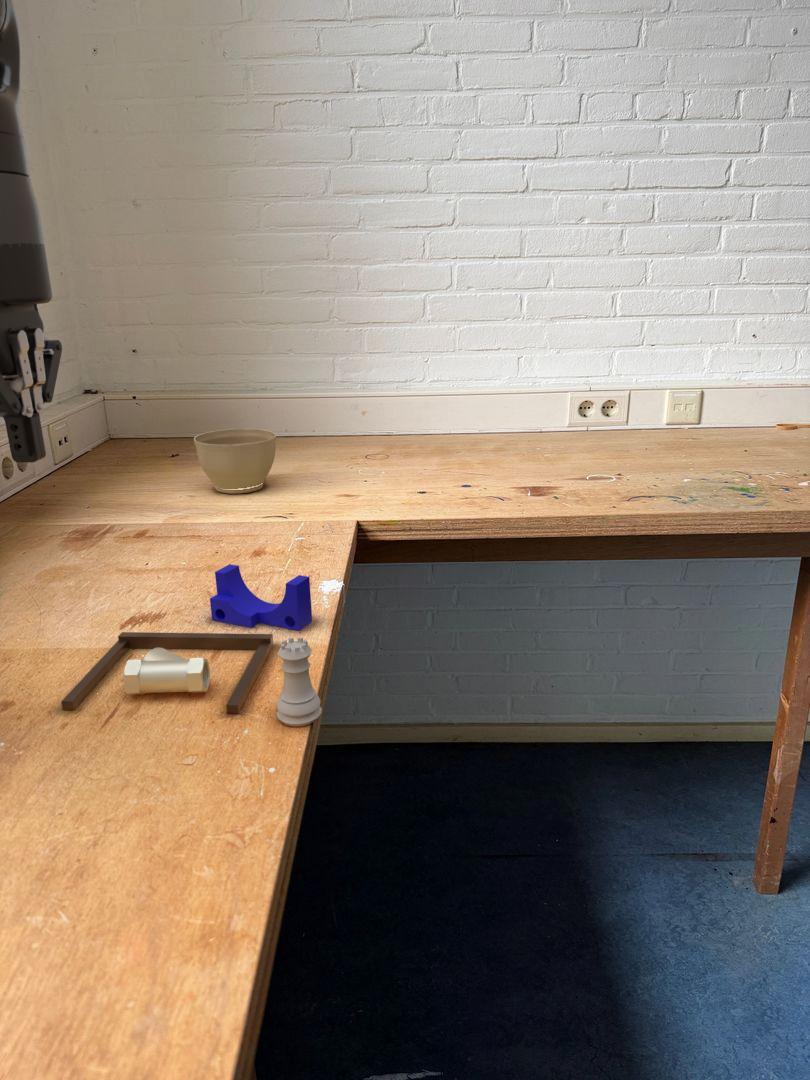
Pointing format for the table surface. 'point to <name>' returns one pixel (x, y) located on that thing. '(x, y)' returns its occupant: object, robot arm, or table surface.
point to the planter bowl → (236, 457)
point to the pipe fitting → (166, 674)
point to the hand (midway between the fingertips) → (29, 460)
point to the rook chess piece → (297, 685)
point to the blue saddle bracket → (260, 602)
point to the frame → (182, 641)
